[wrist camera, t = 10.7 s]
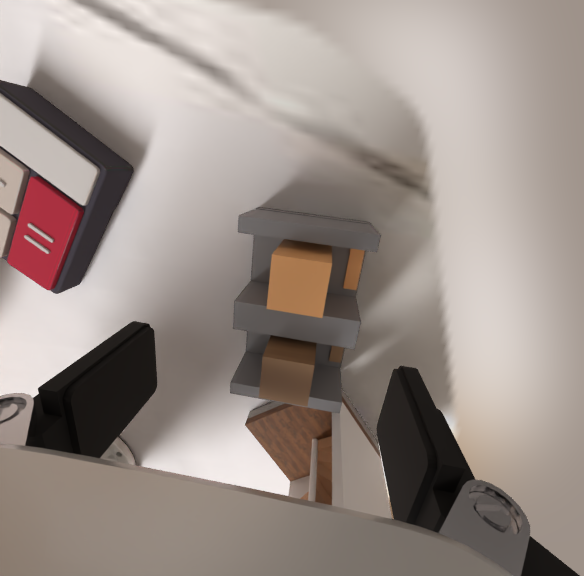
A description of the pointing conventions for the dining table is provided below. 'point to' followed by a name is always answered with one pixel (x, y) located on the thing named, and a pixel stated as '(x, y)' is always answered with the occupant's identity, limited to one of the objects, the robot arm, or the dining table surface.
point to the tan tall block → (299, 278)
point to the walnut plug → (287, 370)
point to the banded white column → (324, 454)
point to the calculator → (52, 189)
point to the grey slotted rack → (324, 331)
